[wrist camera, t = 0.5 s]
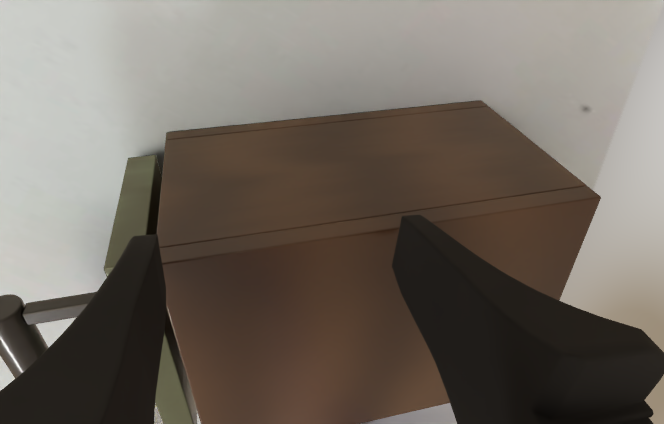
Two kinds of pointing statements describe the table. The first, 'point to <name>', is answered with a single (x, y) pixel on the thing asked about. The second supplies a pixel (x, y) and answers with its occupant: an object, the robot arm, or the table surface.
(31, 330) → the drawer
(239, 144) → the cabinet
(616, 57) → the table surface
